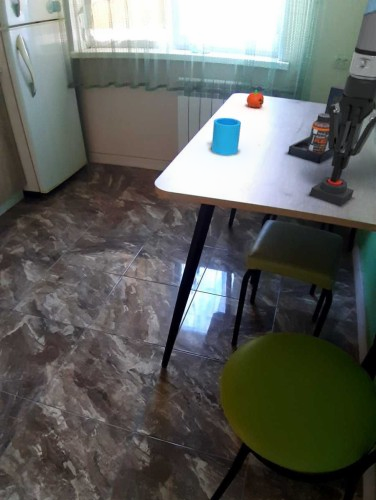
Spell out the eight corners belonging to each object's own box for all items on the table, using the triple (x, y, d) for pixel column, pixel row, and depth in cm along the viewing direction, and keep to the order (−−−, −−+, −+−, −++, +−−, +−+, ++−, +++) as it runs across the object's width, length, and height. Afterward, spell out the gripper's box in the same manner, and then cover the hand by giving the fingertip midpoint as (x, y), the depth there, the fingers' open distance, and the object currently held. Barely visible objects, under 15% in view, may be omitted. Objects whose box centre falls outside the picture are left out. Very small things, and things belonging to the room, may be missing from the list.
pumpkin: (262, 104, 175) (265, 87, 171) (262, 110, 169) (265, 92, 165) (246, 103, 176) (248, 86, 171) (245, 108, 170) (247, 91, 166)
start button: (342, 187, 110) (344, 180, 108) (336, 191, 108) (338, 184, 106) (330, 183, 111) (331, 176, 110) (324, 187, 109) (325, 180, 108)
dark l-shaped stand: (357, 142, 145) (372, 91, 134) (320, 163, 128) (334, 107, 117) (326, 134, 150) (338, 84, 139) (286, 153, 134) (297, 98, 123)
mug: (235, 156, 130) (238, 127, 124) (209, 153, 131) (211, 124, 125) (241, 143, 139) (244, 116, 133) (216, 140, 140) (218, 113, 134)
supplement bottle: (310, 155, 133) (319, 117, 125) (303, 149, 137) (311, 112, 130) (327, 155, 134) (337, 117, 126) (319, 148, 138) (329, 111, 131)
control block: (351, 197, 111) (356, 183, 108) (340, 206, 107) (345, 191, 104) (321, 187, 115) (325, 173, 112) (309, 195, 111) (313, 180, 108)
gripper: (331, 73, 93) (306, 176, 109) (387, 84, 87) (352, 191, 103) (345, 68, 97) (319, 168, 113) (399, 79, 91) (364, 183, 107)
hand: (335, 179), depth 108 cm, fingers closed
